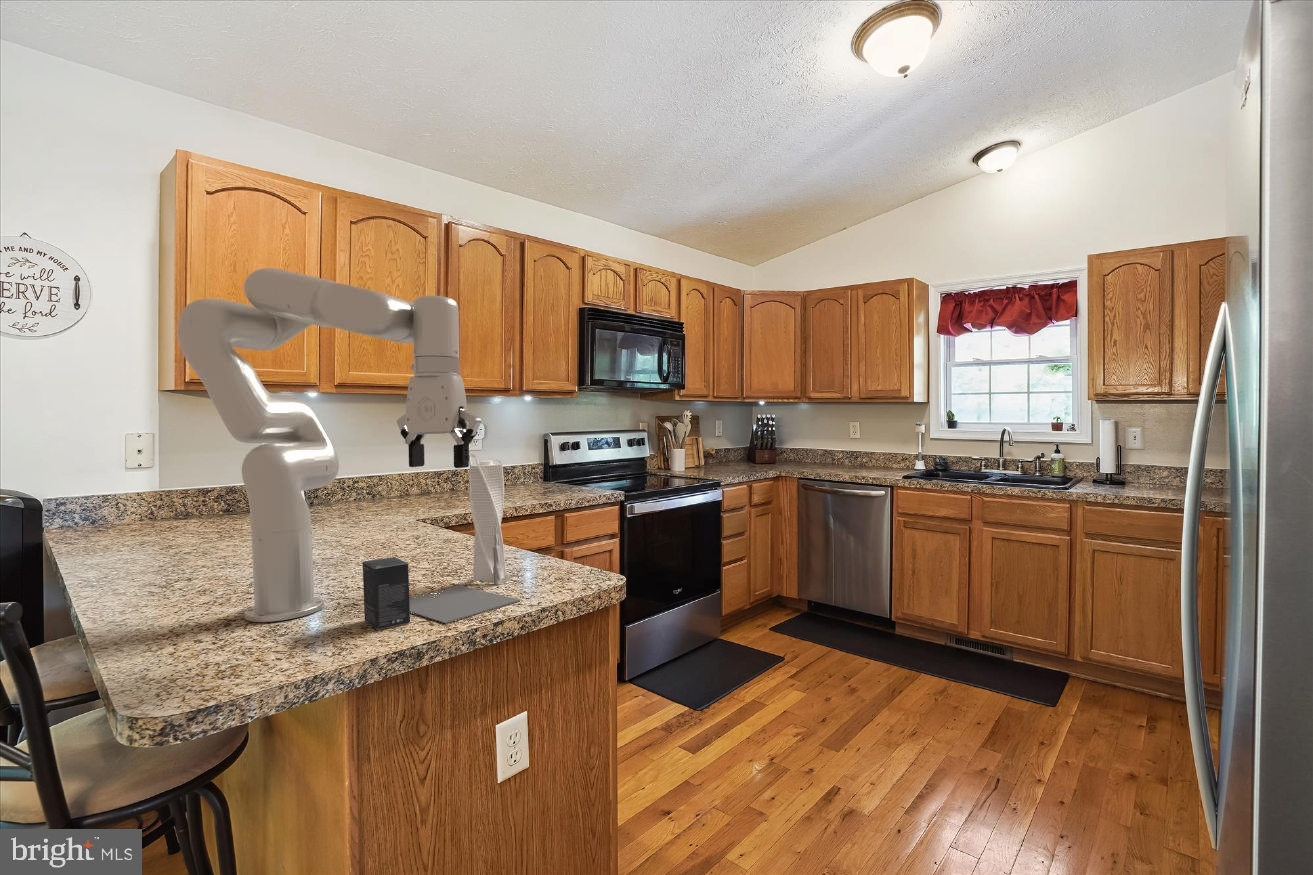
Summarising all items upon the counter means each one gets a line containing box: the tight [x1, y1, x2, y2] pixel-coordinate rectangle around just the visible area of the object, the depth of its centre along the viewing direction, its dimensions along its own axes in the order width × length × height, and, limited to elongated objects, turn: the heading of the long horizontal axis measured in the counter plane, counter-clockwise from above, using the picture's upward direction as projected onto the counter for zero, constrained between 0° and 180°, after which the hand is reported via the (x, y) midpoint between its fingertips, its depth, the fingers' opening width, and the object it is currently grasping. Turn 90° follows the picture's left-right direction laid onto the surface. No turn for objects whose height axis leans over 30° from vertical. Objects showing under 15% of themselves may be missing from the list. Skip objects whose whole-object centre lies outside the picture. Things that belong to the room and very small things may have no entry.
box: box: [361, 556, 411, 631], centre depth 106 cm, size 8×6×11 cm
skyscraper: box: [468, 453, 514, 586], centre depth 134 cm, size 8×8×28 cm
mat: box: [409, 584, 521, 625], centre depth 117 cm, size 20×16×1 cm
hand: (438, 467), depth 107 cm, fingers open, 9 cm apart
